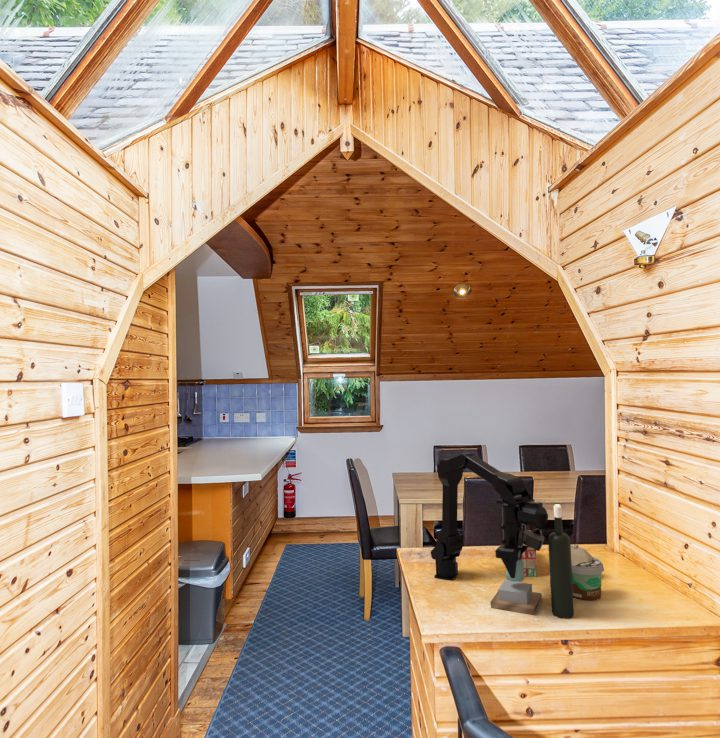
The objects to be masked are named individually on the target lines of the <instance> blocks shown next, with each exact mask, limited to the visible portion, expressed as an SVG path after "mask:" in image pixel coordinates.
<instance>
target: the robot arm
mask: <svg viewBox="0 0 720 738" xmlns="http://www.w3.org/2000/svg"><path fill="white" fill-rule="evenodd" d="M436 467H437V469H436V470H437V477H438V479H439V481H440V483H441V485H442V498H441V499H442V501H441V502H442V507H441V509H442V512H441V513H442V514H441V516H442V518H441V519H442V520H441V528H440V531H439V533H438V534H437V539H436V545H435V546H434V547H433V549H431V551H430V556H431V559H433V560H434V561H435V575H434V578H435V579H440V580H441V579H442V580H449V581H453V580H454V579H456V577H457V576H458V575H459V566H458V565H459V562H458V561H457V557H460V555H461V551H463V547H464V546H465V544H464V534H463V533H460V531H459V529H458V499H459V498H458V495H459V493H458V492H459V489H458V487H459V484H460V482H461V480H462V479H463V475H464V470H466V469H468V470H469V471H471V472H472V473H474V474H475V475H477V476H478V477H480V478H481V479H483V480H484V481H485V482H487V483H489V484H490V485H491V486H492V489H493V490H494V492H495V493H496V494H497V495H498V496H499V498H498V499H497V500H496V501H495V504H496V505H501V515H502V524H501V525H500V529H501V530H502V535H503V536H502V537H503V538H501V544H500V545H499V546H498V547H497V548H496V549H495V552H494V553H495V558H497V559H501V561H502V563H503V565H504V567H505V570H506V569H507V571H508V573H509V575H510V577H511V578H515V574H516V566H517V561H518V560H519V559H520V560H521V559H522V554H523V552H524V551H526V550H527V548H528V546H529V547H531V548H533V549H534V550H536V552H537V551H538V552H539V551H540V550H541V548H543V544H544V541H545V536H544V535H543V532H542V528H544V527H546V525H547V523H548V521H549V520H548V519H549V514H548V511H547V509H546V508H545V507H544V506H543V502H540V501H534V499H533V497H532V495H531V493H530V492H529V491H528V489H527V487H526V485H525V483H524V480H523V479H522V478H521V477H519V476H517V475H514V474H511V473H507V472H502V471H500V470H499V469H497V468H496V467H494V466H492V465H491V464H489V463H487V462H486V461H484V460H483V459H481V458H479V457H478V456H476V454H475V453H473V452H463V453H460V454H459V455H456V456H455V457H452V458H445V459H441V460H439V462H438V463H437V466H436ZM526 525H527V526H530V527H535V529H533V531H532V530H531V529H530V531H529V529H527V526H526ZM523 543H524V544H525V545H527V546H523Z"/></svg>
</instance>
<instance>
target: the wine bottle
mask: <svg viewBox="0 0 720 738" xmlns="http://www.w3.org/2000/svg"><path fill="white" fill-rule="evenodd" d="M562 507H563V506H561V503H559V504H558V503H557V504H554V505H553V517H554V518H553V519H554V520H553V521H554V531H553V532H551V533H550V534H549V535H548V539H547V540H548V541H547V542H548V543H547V544H548V545H547V546H548V561H549V562H548V564H549V579H550V580H549V583H550V585H549V587H550V602H551V603H550V604H551V615H553V616H554V617H556V618H560V619H571V618H573V617H574V616H575V607H574V598H573V584H572V563H571V545H572V544H571V538H570V536H569V535H568V534H567V533H565V532H563V508H562Z"/></svg>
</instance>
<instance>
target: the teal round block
mask: <svg viewBox="0 0 720 738" xmlns="http://www.w3.org/2000/svg"><path fill="white" fill-rule="evenodd" d="M505 578H506V580H507V581H514V582H523V581H524V580H525V577H524V564H523V560H520V559H519V560H518V561H517V566H516V574H515V578H511V577H510V575H509V573H508V571H507V569H506V568H505Z"/></svg>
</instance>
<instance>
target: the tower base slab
mask: <svg viewBox="0 0 720 738" xmlns="http://www.w3.org/2000/svg"><path fill="white" fill-rule="evenodd" d="M542 594H543V593H542V592H536V591H532V596H531V598H530V600H529V602H528V604H527V605H526V604H520V603H513V602H507V601H501V600H499V598H498V591H497V592H496V593H495V595H494V596H493V598H492V599H491V601H490V609H493V610H494V609H495V610H499V611H504V612H505V611H506V612H511V613H512V612H513V613H517V614H523V615H529V616H536V613H537V611H538V608H539V607H540V604H541V602H542V600H543V596H542Z"/></svg>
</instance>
